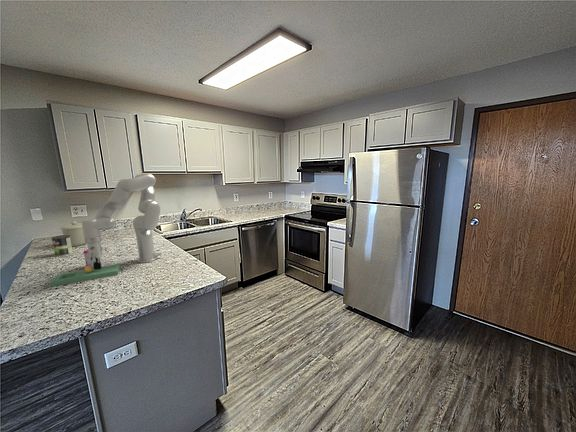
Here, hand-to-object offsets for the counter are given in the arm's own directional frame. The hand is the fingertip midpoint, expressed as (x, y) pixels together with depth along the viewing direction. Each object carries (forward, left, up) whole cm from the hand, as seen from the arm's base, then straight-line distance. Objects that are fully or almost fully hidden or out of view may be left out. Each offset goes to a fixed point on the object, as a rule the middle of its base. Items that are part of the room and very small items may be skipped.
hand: (97, 268), depth 142 cm
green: (+5, 0, -4) cm, 6 cm away
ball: (+4, 0, +1) cm, 4 cm away
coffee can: (+32, -62, -4) cm, 70 cm away
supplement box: (+6, -19, -4) cm, 20 cm away
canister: (+30, -90, -4) cm, 95 cm away
